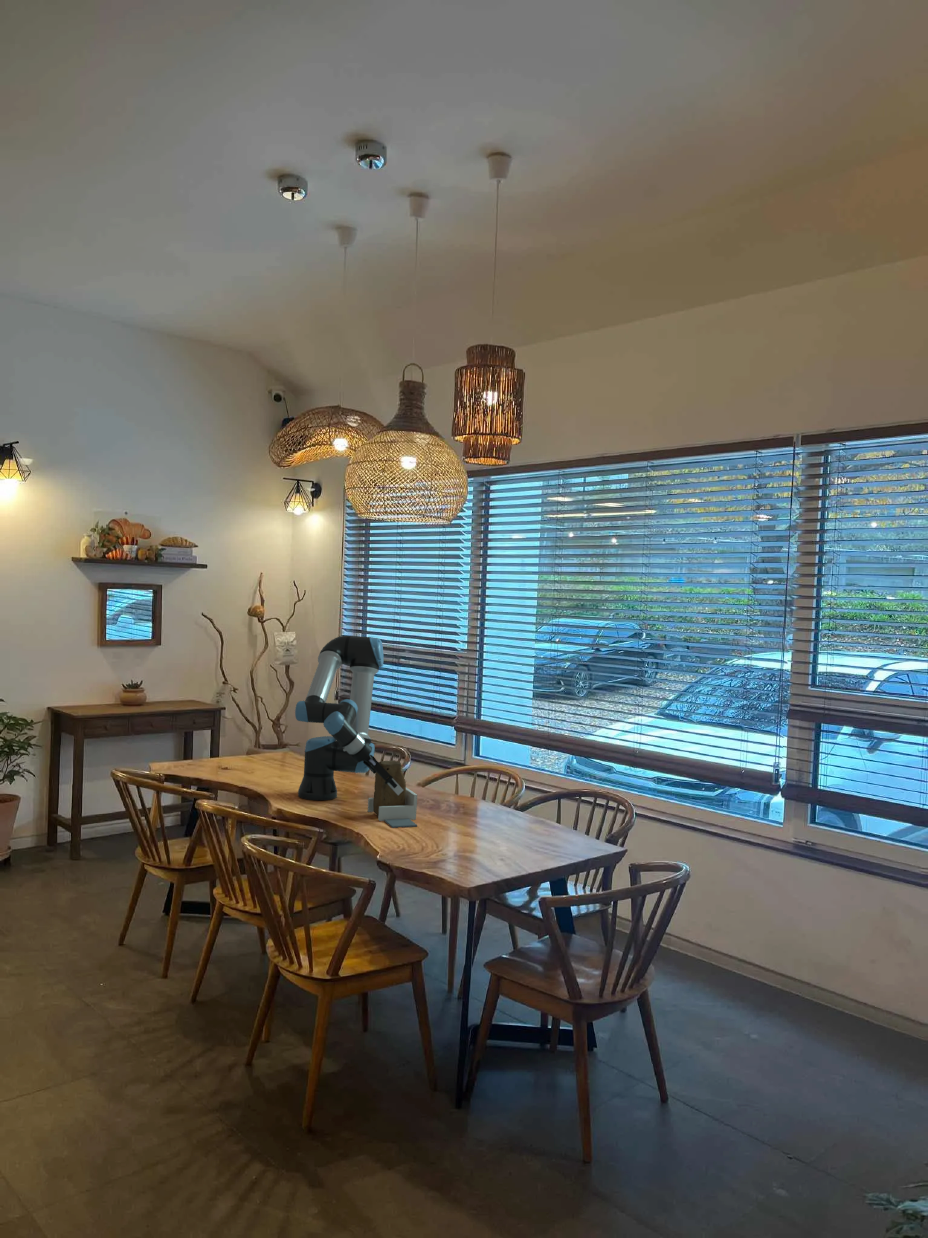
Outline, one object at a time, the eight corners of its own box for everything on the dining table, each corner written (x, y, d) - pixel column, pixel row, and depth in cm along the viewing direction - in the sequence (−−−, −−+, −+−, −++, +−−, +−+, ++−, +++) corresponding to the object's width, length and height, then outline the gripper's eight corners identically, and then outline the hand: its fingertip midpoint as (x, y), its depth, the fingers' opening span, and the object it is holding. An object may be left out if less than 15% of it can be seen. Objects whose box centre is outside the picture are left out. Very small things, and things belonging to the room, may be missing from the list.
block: (379, 819, 319) (382, 764, 318) (370, 814, 325) (374, 760, 325) (406, 817, 324) (409, 762, 324) (397, 812, 331) (400, 758, 330)
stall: (367, 811, 329) (369, 787, 329) (403, 810, 334) (404, 786, 334) (379, 821, 316) (380, 796, 316) (415, 819, 322) (417, 794, 321)
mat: (384, 821, 316) (384, 819, 316) (408, 820, 320) (408, 818, 320) (392, 828, 308) (392, 826, 308) (417, 826, 312) (417, 825, 312)
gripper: (341, 749, 329) (377, 788, 335) (359, 762, 306) (398, 804, 312) (355, 734, 331) (391, 774, 337) (375, 746, 308) (413, 788, 314)
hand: (394, 788), depth 325 cm, fingers open, 13 cm apart
